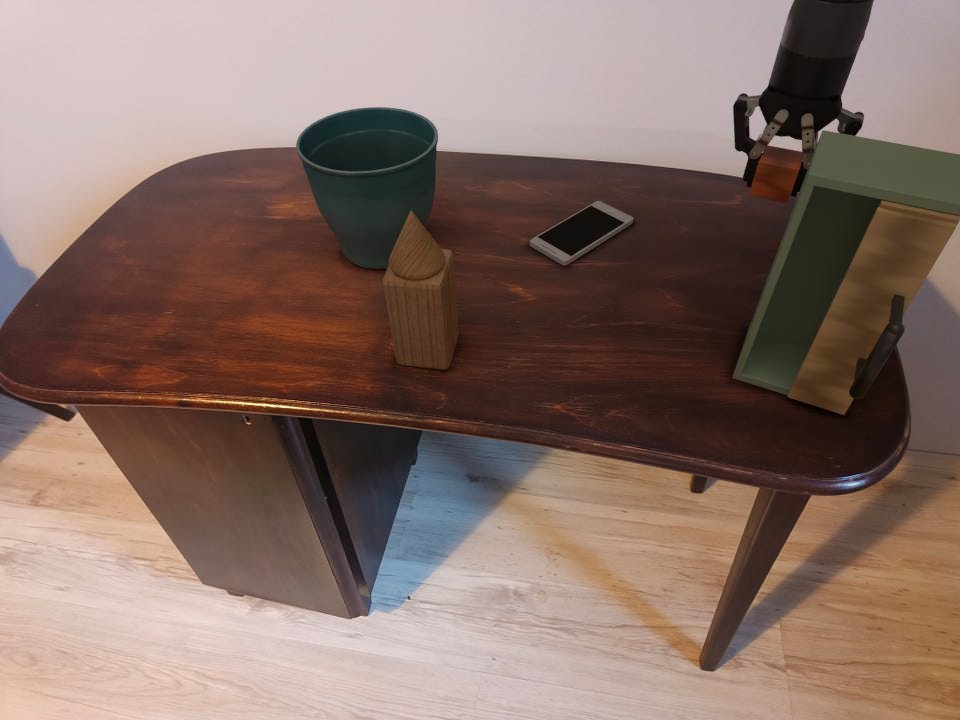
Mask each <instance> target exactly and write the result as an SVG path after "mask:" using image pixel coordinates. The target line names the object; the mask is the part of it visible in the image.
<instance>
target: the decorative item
mask: <svg viewBox="0 0 960 720" xmlns="http://www.w3.org/2000/svg"><path fill="white" fill-rule="evenodd" d="M454 260H455V259H454V254H453V251H452V250H450V249H446V248H441V246H440V245H439V244H438V243H437V241H436V240H435V239H434V238H433V236H432V235H431V234H430V232H429V231H428V230H427V228H426V229H425V227H424V226H423V225H422V223H421V222H420V221H419V220H418V218H417V217H416V216H415V214H414V213H413V212H412V210H411V211H410V213H409V215H408V217H407V220H406V222H405V224H404V226H403V228H402V231H401V233H400V235H399V237H398V239H397V242H396V244H395V246H394V248H393V250H392V253H391V255H390V258H389V266H388V268H386V271H385V273H384V276H383V278H382V288H383V292H384V298H385V304H386V310H387V316H388V320H389V326H390V332H391V338H392V345H393V349H394V356H395V360H396V363H397V365H399V366H404V367H415V368H422V369H433V370H440V371H441V370H442V371H446V370H448V369H450V366H451V363H452V361H453V357H454V353H455V350H456V347H457V343H458V339H459V335H460V332H459V318H458V303H457V289H456V276H455V275H456V273H455V261H454Z"/></svg>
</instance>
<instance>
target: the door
mask: <svg viewBox="0 0 960 720" xmlns="http://www.w3.org/2000/svg"><path fill="white" fill-rule="evenodd" d="M956 228H957V226H956V224H955V223H950V222H945V221H941V220H936V219H931V218H926V217H922V216H917V215H912V214H907V213H903V212H898V211H893V210H888V209H884V208H879V207H877V209H876V211H875V213H874V215H873V217H872V219H871V221H870V223H869V225H868V227H867V230H866V232H865V234H864V236H863V238H862V240H861V242H860V244H859V246H858V248H857V250H856V253H855V255H854V257H853V259H852V261H851V263H850V265H849V267H848V269H847V271H846V273H845V275H844V278H843V280H842V282H841V284H840V286H839V288H838V290H837V292H836V294H835V296H834V298H833V301H832V303H831V305H830V307H829V309H828V311H827V313H826V315H825V317H824V319H823V321H822V323H821V326H820V328H819V330H818V332H817V334H816V336H815V338H814V340H813V342H812V344H811V346H810V349H809V351H808V353H807V355H806V357H805V359H804V361H803V363H802V365H801V367H800V369H799V371H798V374H797V376H796V378H795V380H794V382H793V384H792V386H791V388H790V390H789V392H788V395H786V397H787V398H789V399H792V400H795V401H798V402H801V403H804V404H808V405H810V406H814V407H817V408H820V409H823V410H827V411H830V412H832V413H836V414H839V415H842V416H845V414H846V413H847V412H848V410H849V408H850V407H851V405H852V403H853V401H854V400H862V399H864V398H865V396H866V395H867V394H868V392H869V391H870V389H871V387H872V385H873V384H874V383H875V381H876V379H877V378H878V376H879V375H880V372H881V371H882V369H883V367H884V366H885V365H886V362H887V361H888V359H889V358H890V356H891V354H892V353H893V351H894V350H895V347H896V346H897V345H898V343H899V342H900V340H901V338H902V337H903V335H904V333H905V332H906V330H905V329H906V328H905V325H904V324H903V317H904V316H905V314H906V312H907V311H908V309H909V307H910V305H911V304H912V302H913V300H914V299H915V298H916V295H917V294H918V293H919V291H920V289H921V287H922V286H923V284H924V282H925V281H926V279H927V277H928V276H929V274H930V272H931V271H932V269H933V267H934V265H935V264H936V262H937V260H938V259H939V257H940V255H942V252H943V250H944V249H945V248H946V245H947V244H948V242H949V241H950V239H951V237H952V235H953V234H954V232H955V231H956Z"/></svg>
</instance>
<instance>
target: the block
mask: <svg viewBox="0 0 960 720" xmlns="http://www.w3.org/2000/svg"><path fill="white" fill-rule="evenodd" d="M802 161H803V152H802V150H796V149H790V148H784V147H779V146H773V145H769V144H768V145H767V146H766V148H765V149H764V151H763V152H762V155H761V158H760V160H759V163H758V166H757V169H756V173H755V176H754V179H753V182H752V186H751V187H750V189H749V193H748V196H750V197H755V198H760V199H764V200H769V201H774V202H778V203H782V204H788V203H789V201H790V198H791V196H790V195H791V192H792V190H793V187H794V184H795V181H796V178H797V175H798V173H799V170H800V167H801V164H802Z"/></svg>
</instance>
